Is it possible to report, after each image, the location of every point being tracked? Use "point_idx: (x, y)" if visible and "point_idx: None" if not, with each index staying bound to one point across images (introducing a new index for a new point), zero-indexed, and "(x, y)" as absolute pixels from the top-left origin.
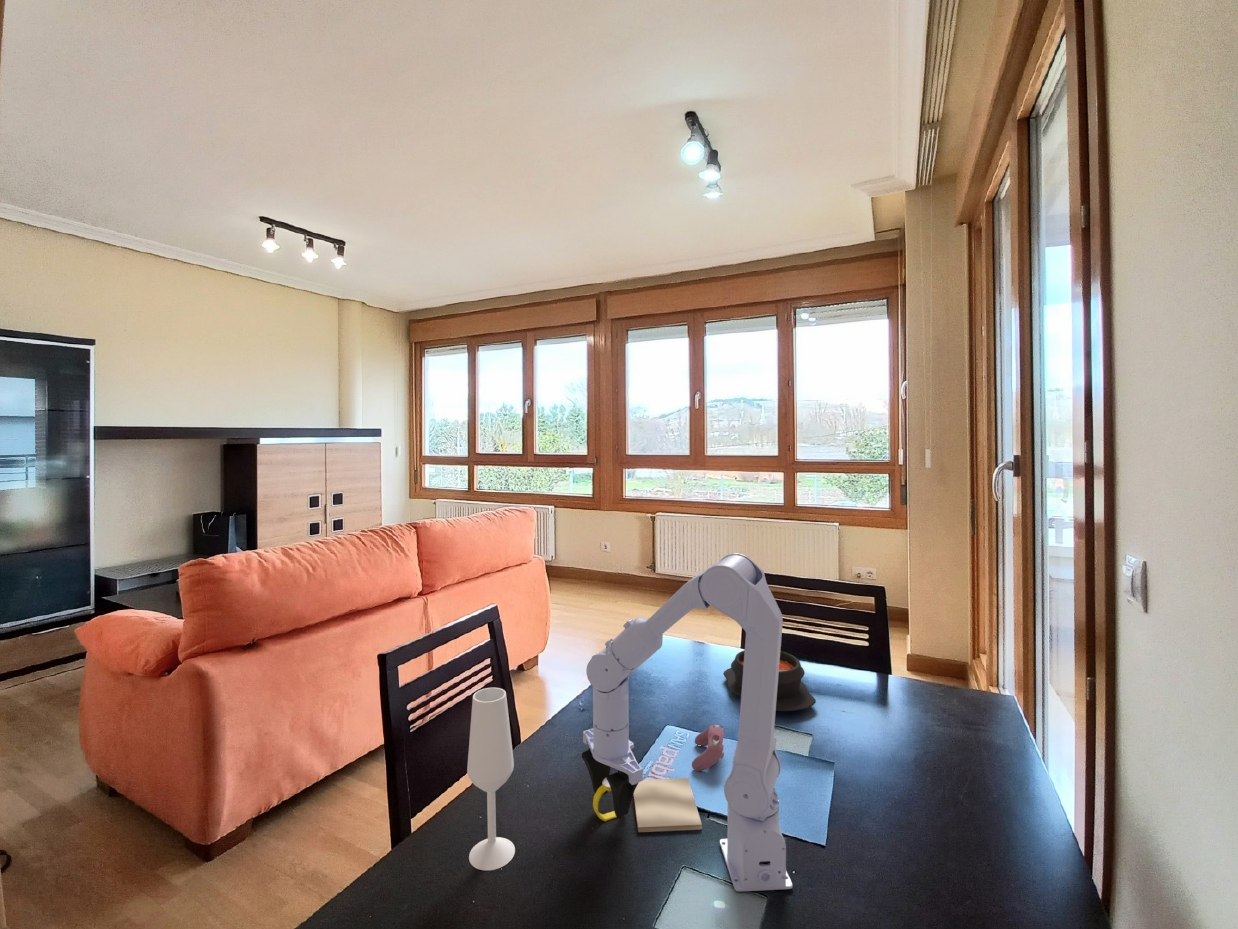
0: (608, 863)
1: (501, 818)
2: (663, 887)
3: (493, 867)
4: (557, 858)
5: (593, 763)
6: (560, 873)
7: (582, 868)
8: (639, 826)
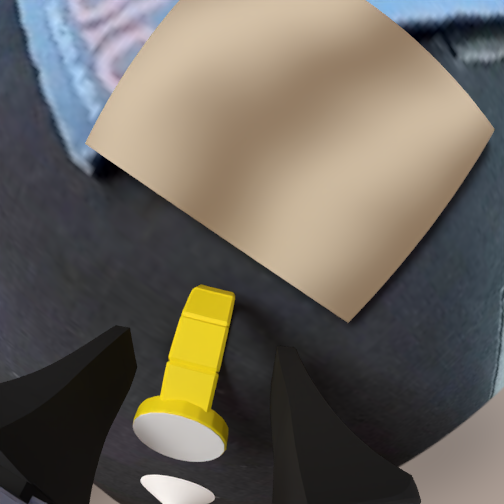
0: (355, 419)
1: None
2: (485, 362)
3: (210, 501)
4: (258, 464)
5: (80, 489)
6: None
7: None
8: (349, 318)
